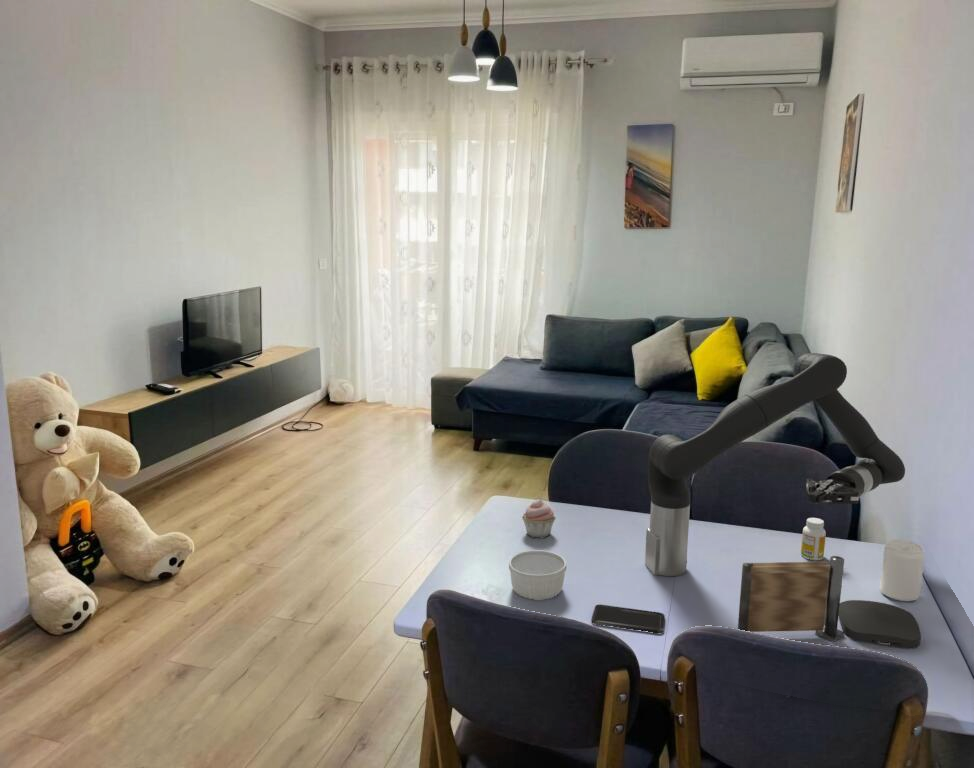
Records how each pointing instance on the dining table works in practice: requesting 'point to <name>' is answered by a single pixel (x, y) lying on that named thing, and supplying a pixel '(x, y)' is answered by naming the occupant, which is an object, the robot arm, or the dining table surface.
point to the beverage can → (902, 570)
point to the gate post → (833, 601)
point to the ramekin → (537, 574)
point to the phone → (628, 618)
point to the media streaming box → (879, 624)
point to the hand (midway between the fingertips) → (812, 499)
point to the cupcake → (538, 519)
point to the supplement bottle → (813, 539)
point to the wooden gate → (783, 596)
